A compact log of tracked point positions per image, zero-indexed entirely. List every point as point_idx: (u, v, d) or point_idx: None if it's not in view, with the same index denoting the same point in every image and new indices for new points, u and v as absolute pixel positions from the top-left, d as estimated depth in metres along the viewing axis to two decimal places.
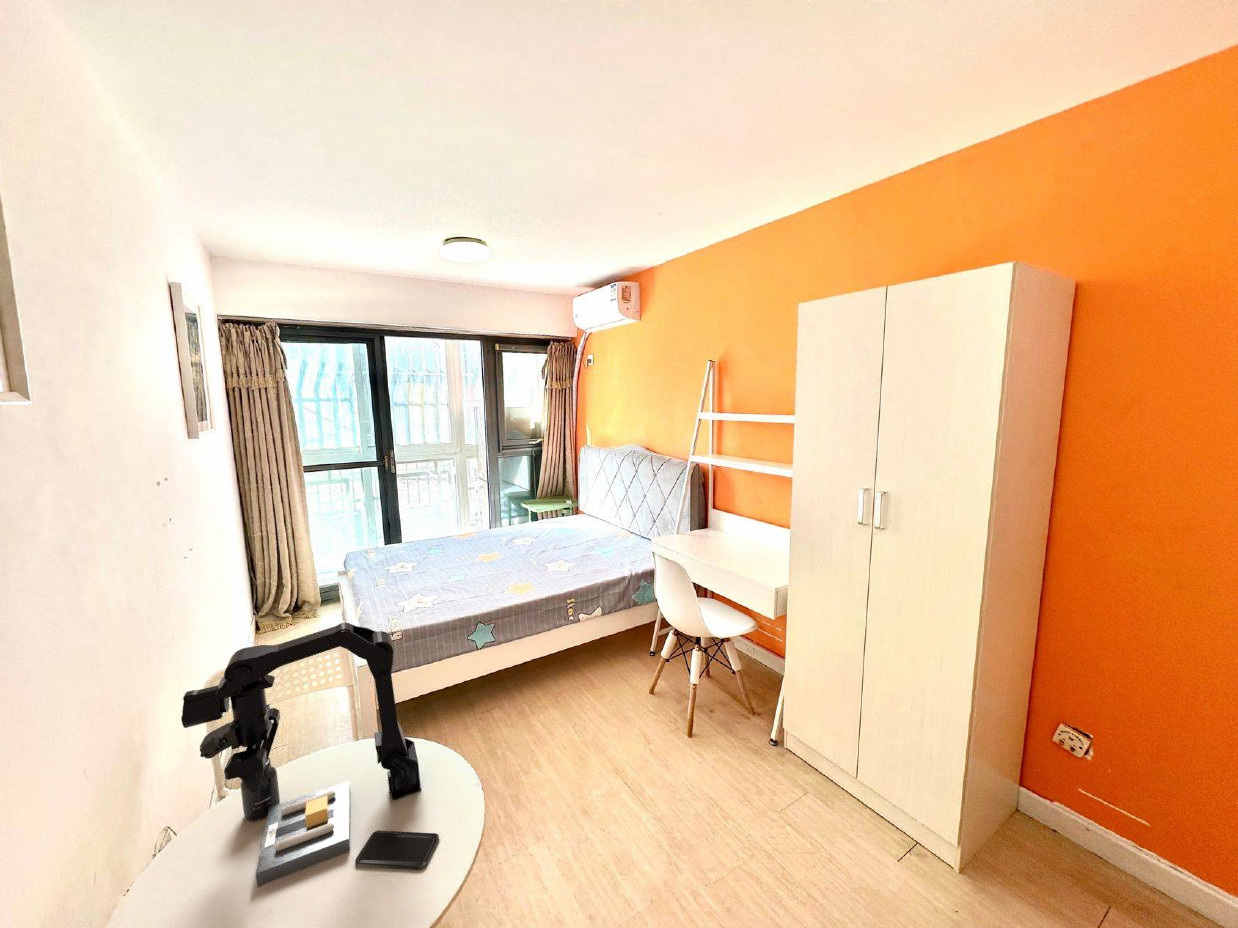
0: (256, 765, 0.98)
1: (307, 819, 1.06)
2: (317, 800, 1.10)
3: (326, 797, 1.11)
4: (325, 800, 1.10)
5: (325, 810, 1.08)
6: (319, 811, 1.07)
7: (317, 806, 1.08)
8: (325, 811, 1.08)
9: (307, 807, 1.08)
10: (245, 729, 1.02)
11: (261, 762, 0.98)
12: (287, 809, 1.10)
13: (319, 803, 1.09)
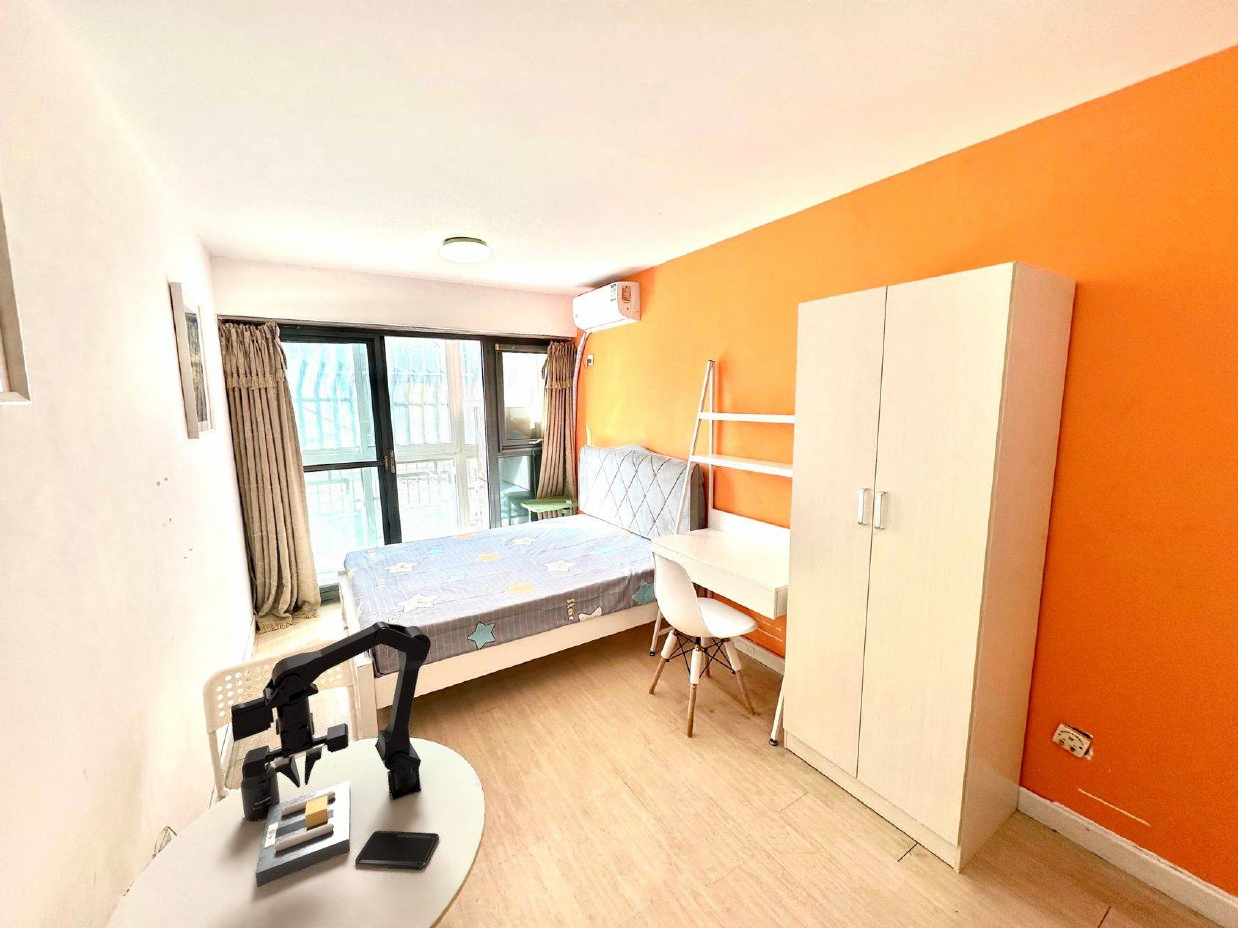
0: (242, 771, 1.00)
1: (307, 819, 1.06)
2: (317, 800, 1.10)
3: (326, 797, 1.11)
4: (325, 800, 1.10)
5: (325, 810, 1.08)
6: (319, 811, 1.07)
7: (317, 806, 1.08)
8: (325, 811, 1.08)
9: (307, 807, 1.08)
10: None
11: (244, 772, 0.99)
12: (287, 809, 1.10)
13: (319, 803, 1.09)
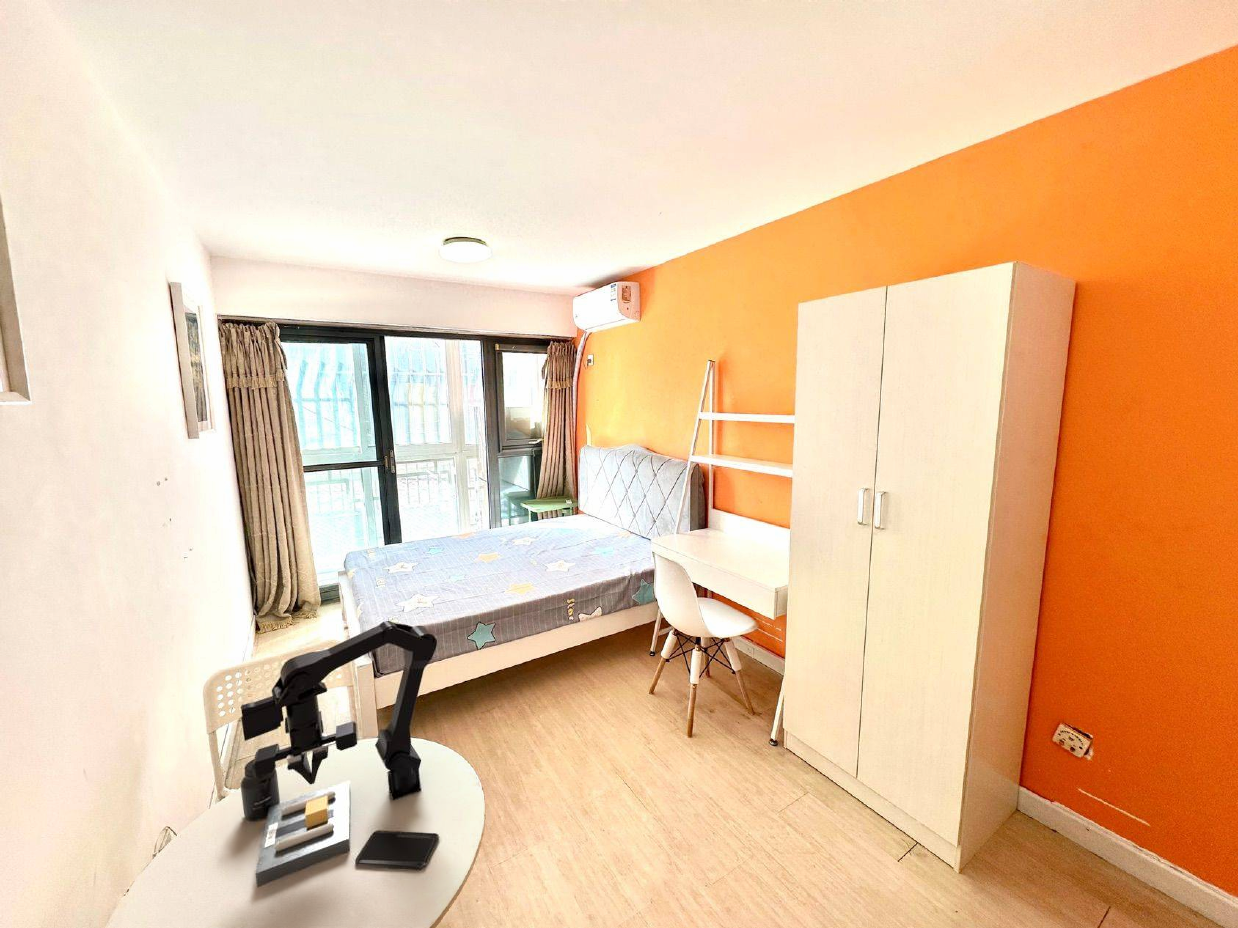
0: (252, 769, 1.01)
1: (307, 819, 1.06)
2: (317, 800, 1.10)
3: (326, 797, 1.11)
4: (325, 800, 1.10)
5: (325, 810, 1.08)
6: (319, 811, 1.07)
7: (317, 806, 1.08)
8: (325, 811, 1.08)
9: (307, 807, 1.08)
10: None
11: (254, 770, 1.00)
12: (287, 809, 1.10)
13: (319, 803, 1.09)
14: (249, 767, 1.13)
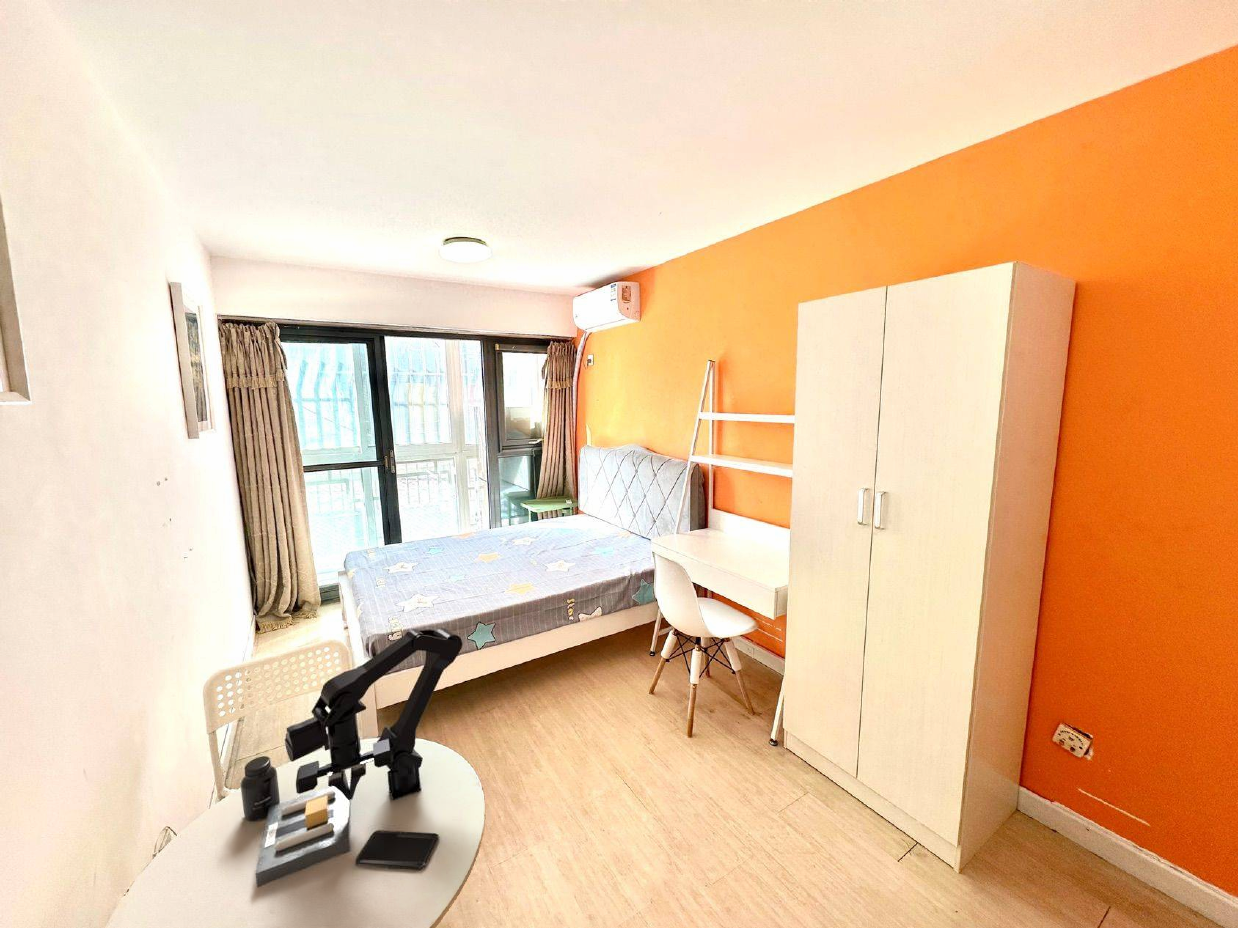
0: (296, 786, 1.05)
1: (307, 819, 1.06)
2: (317, 800, 1.10)
3: (326, 797, 1.11)
4: (325, 800, 1.10)
5: (325, 810, 1.08)
6: (319, 811, 1.07)
7: (317, 806, 1.08)
8: (325, 811, 1.08)
9: (307, 807, 1.08)
10: None
11: (298, 787, 1.04)
12: (287, 809, 1.10)
13: (319, 803, 1.09)
14: (249, 767, 1.13)
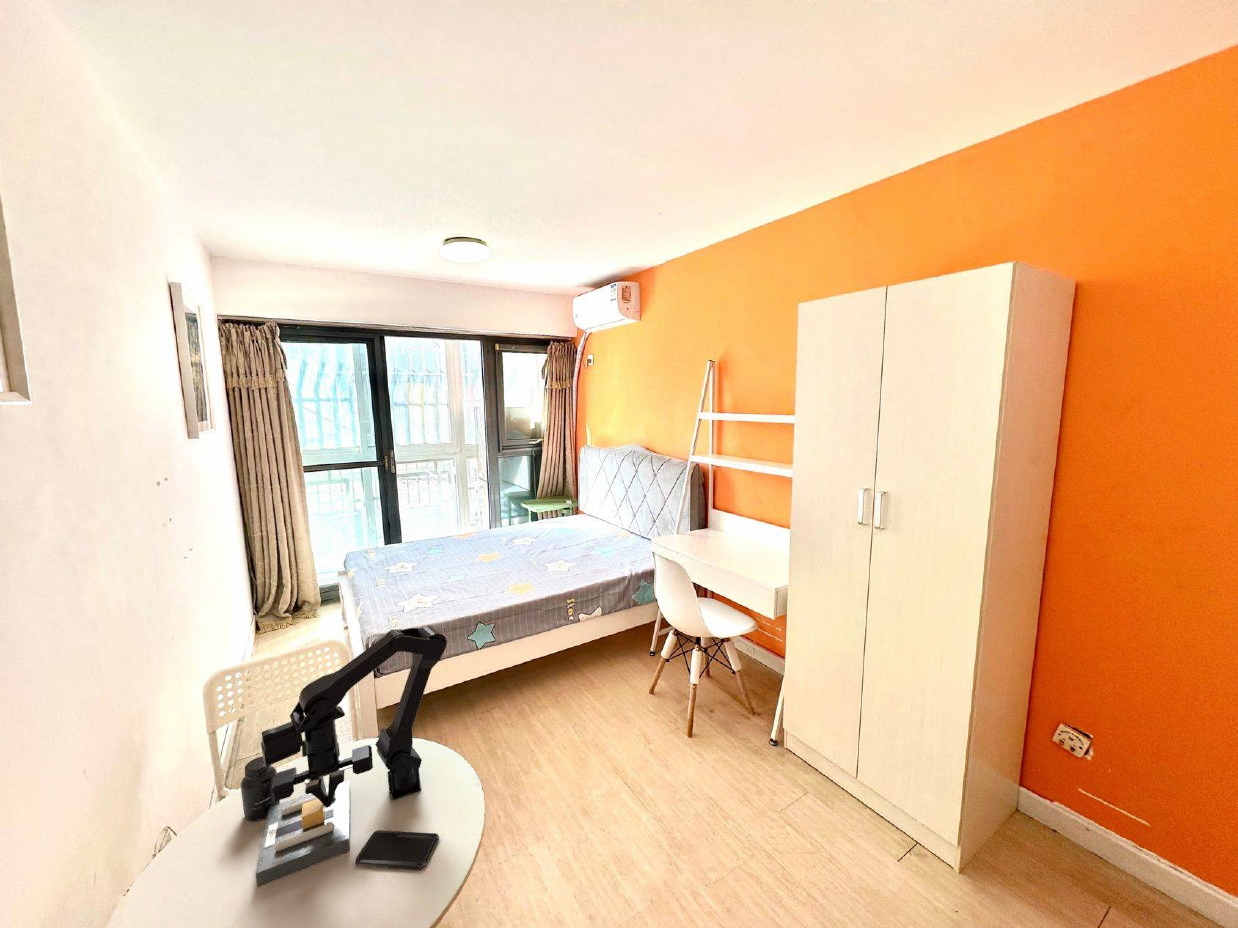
0: (271, 793, 1.02)
1: (303, 820, 1.06)
2: (313, 801, 1.10)
3: None
4: None
5: (321, 811, 1.08)
6: (315, 812, 1.07)
7: (313, 807, 1.08)
8: (321, 812, 1.08)
9: (303, 808, 1.08)
10: None
11: (273, 795, 1.02)
12: (287, 809, 1.10)
13: (315, 804, 1.09)
14: (249, 767, 1.13)
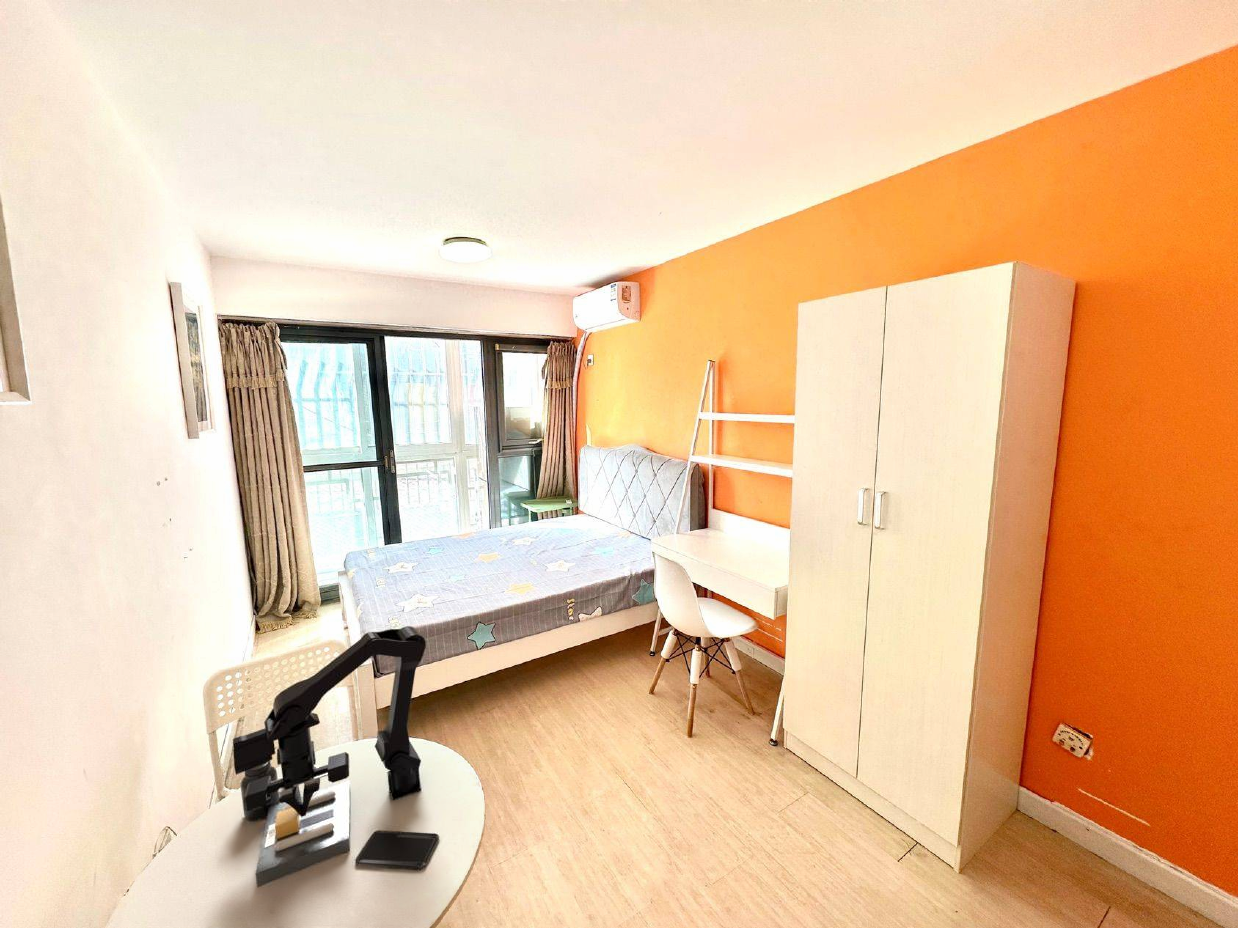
0: (244, 803, 1.00)
1: (277, 830, 1.04)
2: (288, 810, 1.08)
3: None
4: None
5: (296, 820, 1.05)
6: (289, 821, 1.05)
7: (288, 816, 1.06)
8: (296, 821, 1.05)
9: (278, 817, 1.06)
10: None
11: (245, 804, 1.00)
12: None
13: (290, 813, 1.07)
14: None
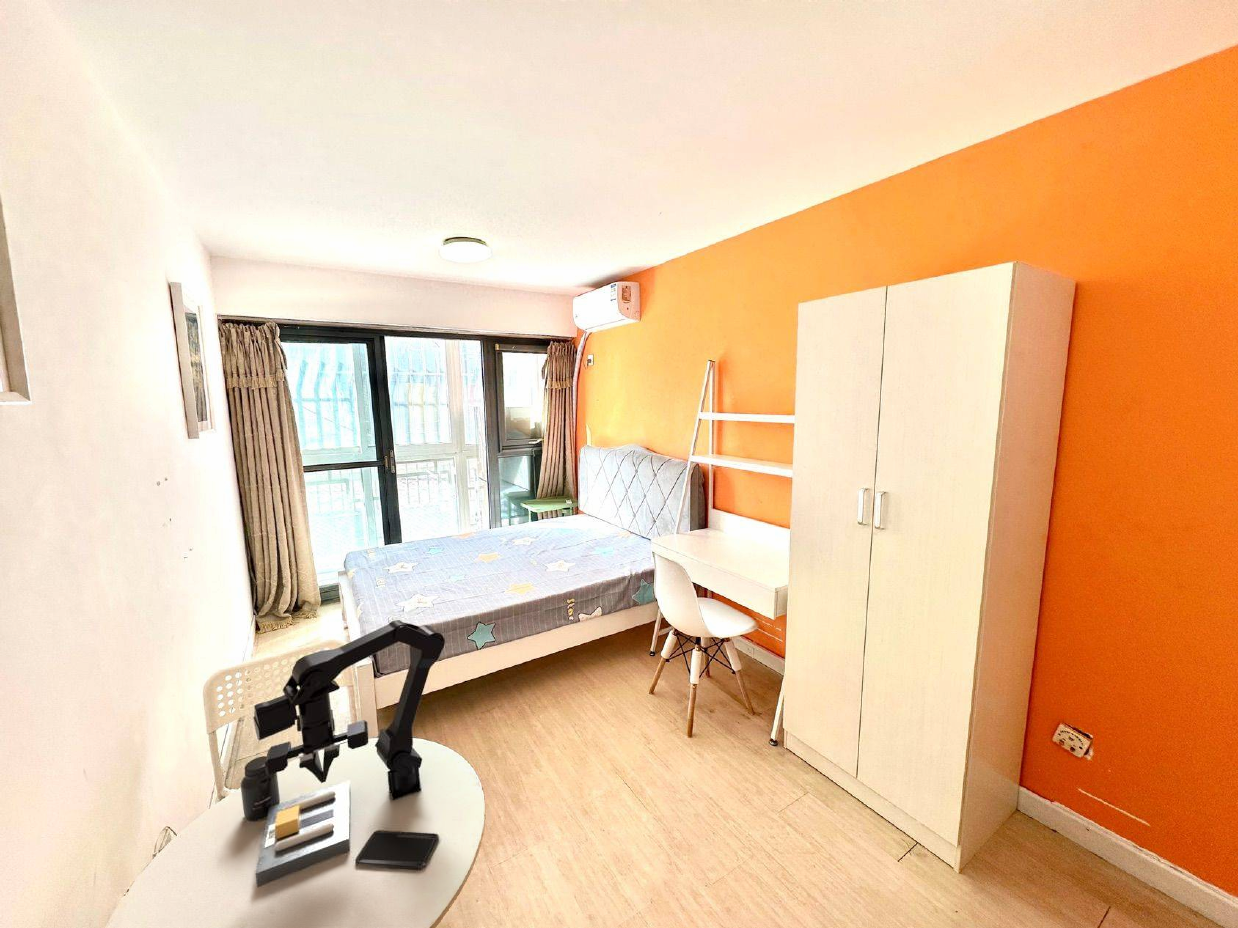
0: (265, 766, 1.01)
1: (277, 830, 1.04)
2: (288, 810, 1.08)
3: (298, 807, 1.08)
4: (296, 810, 1.08)
5: (296, 820, 1.05)
6: (289, 821, 1.05)
7: (288, 816, 1.06)
8: (296, 821, 1.05)
9: (278, 817, 1.06)
10: None
11: (267, 768, 1.00)
12: None
13: (290, 813, 1.07)
14: (249, 767, 1.13)
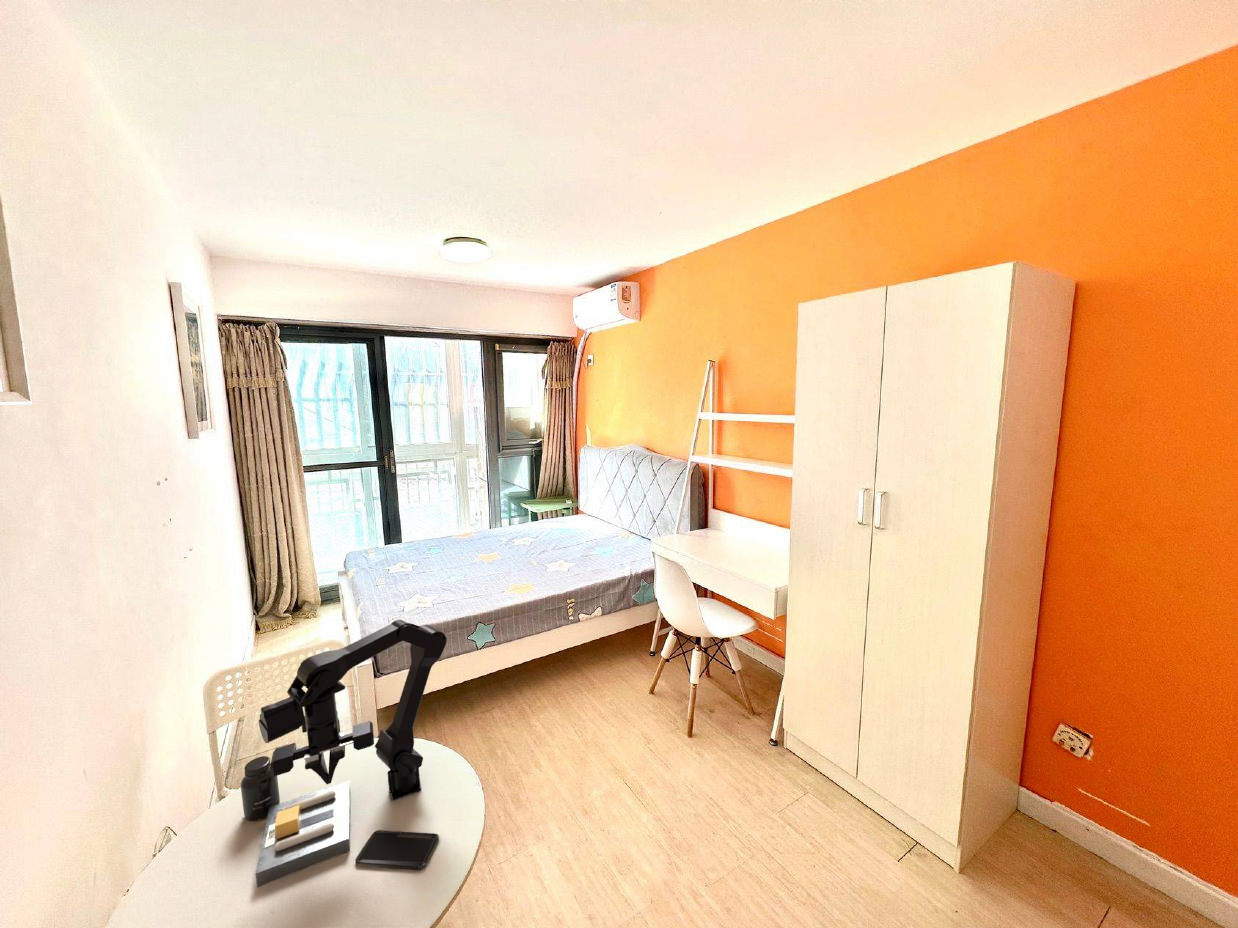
0: (270, 768, 1.00)
1: (277, 830, 1.04)
2: (288, 810, 1.08)
3: (298, 807, 1.08)
4: (296, 810, 1.08)
5: (296, 820, 1.05)
6: (289, 821, 1.05)
7: (288, 816, 1.06)
8: (296, 821, 1.05)
9: (278, 817, 1.06)
10: None
11: (272, 769, 1.00)
12: None
13: (290, 813, 1.07)
14: (249, 767, 1.13)
